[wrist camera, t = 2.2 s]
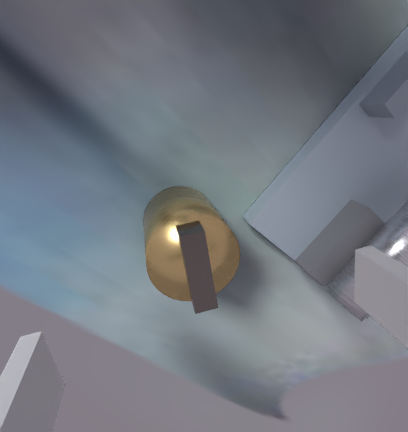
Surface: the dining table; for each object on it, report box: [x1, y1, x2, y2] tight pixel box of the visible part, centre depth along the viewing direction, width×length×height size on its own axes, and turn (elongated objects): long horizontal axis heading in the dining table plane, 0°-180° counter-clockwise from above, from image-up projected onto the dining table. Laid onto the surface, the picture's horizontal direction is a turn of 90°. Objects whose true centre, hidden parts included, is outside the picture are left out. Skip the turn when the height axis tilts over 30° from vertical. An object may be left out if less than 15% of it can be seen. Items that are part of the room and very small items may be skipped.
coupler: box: [143, 186, 240, 314], centre depth 18 cm, size 5×5×7 cm
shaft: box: [325, 201, 408, 321], centre depth 20 cm, size 4×10×4 cm, turn 139°
